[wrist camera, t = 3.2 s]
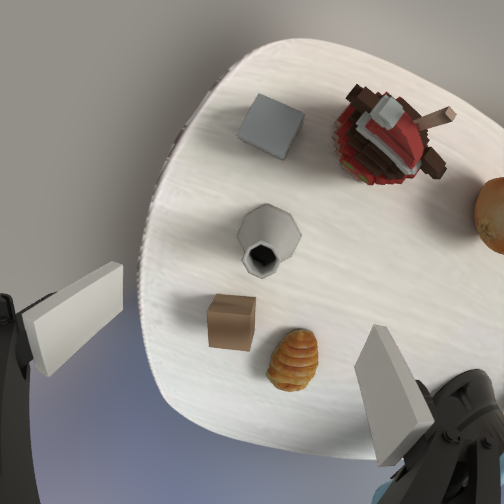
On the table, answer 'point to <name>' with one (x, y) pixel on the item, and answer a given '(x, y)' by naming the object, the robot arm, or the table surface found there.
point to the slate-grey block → (271, 126)
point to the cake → (386, 138)
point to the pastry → (294, 361)
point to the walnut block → (231, 322)
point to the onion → (491, 214)
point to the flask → (267, 239)
